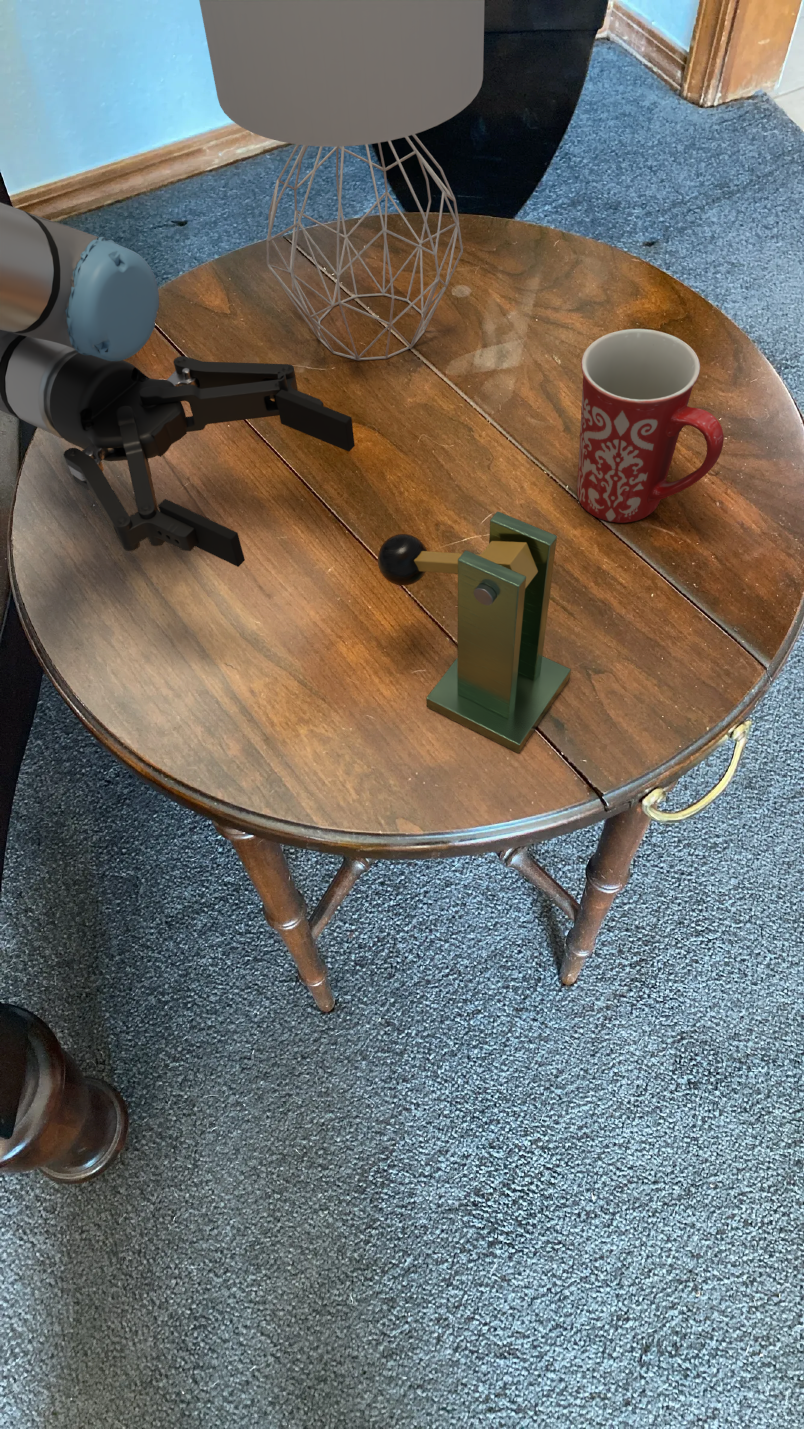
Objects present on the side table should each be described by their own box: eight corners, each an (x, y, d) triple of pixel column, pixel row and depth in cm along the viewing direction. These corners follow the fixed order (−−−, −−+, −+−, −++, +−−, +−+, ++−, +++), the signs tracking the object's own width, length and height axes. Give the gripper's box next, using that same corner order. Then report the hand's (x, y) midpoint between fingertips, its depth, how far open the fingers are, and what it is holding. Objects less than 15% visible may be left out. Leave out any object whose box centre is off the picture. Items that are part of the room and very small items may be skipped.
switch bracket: (426, 706, 74) (419, 563, 61) (479, 636, 77) (485, 486, 64) (518, 753, 71) (532, 614, 58) (570, 678, 74) (594, 530, 61)
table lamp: (226, 312, 103) (117, -187, 70) (403, 242, 109) (379, -248, 76) (331, 425, 92) (261, -104, 59) (521, 339, 98) (554, -184, 65)
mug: (543, 494, 86) (556, 363, 75) (611, 445, 89) (634, 312, 78) (655, 570, 80) (688, 441, 69) (724, 515, 83) (765, 383, 72)
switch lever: (380, 594, 70) (359, 554, 68) (408, 562, 71) (388, 522, 69) (519, 608, 62) (500, 563, 60) (546, 571, 63) (529, 527, 61)
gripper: (193, 350, 85) (394, 430, 78) (-15, 528, 74) (197, 639, 67) (172, 271, 79) (389, 350, 72) (-58, 451, 68) (170, 565, 61)
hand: (297, 490), depth 70 cm, fingers open, 13 cm apart
